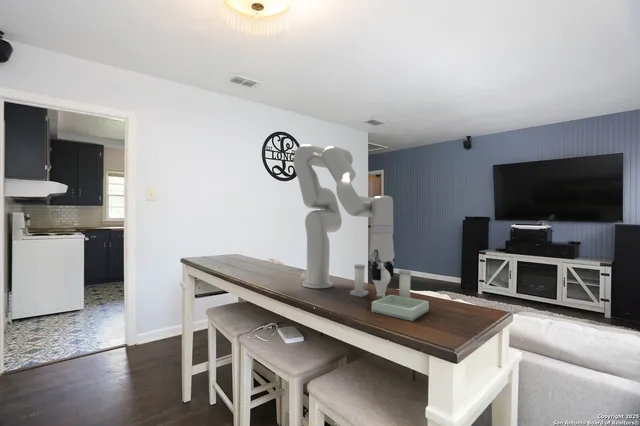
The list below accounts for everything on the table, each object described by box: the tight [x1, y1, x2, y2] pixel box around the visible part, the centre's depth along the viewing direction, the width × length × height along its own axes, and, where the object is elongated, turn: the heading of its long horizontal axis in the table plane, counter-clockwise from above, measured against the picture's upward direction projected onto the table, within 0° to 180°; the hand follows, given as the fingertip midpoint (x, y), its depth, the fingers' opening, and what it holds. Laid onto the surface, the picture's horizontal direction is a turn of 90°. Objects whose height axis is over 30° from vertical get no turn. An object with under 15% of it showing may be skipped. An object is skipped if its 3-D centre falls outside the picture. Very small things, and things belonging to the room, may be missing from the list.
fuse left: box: [349, 263, 369, 297], centre depth 120 cm, size 5×5×11 cm
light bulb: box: [372, 267, 392, 299], centre depth 114 cm, size 7×7×11 cm
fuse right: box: [398, 269, 412, 298], centre depth 109 cm, size 5×5×11 cm
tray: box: [371, 294, 430, 322], centre depth 99 cm, size 13×13×3 cm
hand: (383, 278), depth 114 cm, fingers open, 9 cm apart
